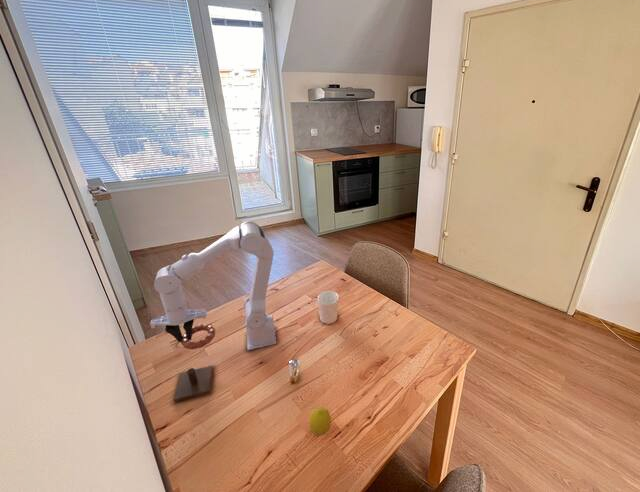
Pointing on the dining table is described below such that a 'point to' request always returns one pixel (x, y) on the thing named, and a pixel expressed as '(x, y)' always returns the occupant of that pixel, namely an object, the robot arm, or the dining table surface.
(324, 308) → the white cup
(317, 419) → the lemon
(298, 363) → the ring
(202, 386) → the stand
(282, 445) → the dining table surface
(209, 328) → the hoop
